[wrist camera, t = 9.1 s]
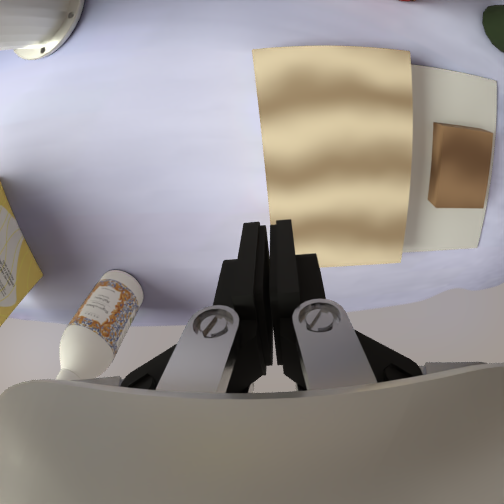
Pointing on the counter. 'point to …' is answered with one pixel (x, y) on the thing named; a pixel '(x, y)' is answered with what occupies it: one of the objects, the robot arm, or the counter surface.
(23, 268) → the pasta box
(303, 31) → the counter surface
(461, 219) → the cream mat
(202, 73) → the counter surface
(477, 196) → the walnut tile
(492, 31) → the character mug
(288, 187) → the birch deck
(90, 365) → the bath foam
